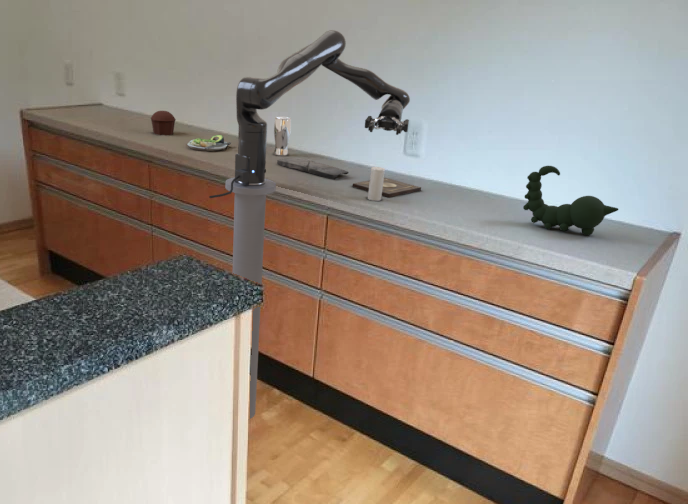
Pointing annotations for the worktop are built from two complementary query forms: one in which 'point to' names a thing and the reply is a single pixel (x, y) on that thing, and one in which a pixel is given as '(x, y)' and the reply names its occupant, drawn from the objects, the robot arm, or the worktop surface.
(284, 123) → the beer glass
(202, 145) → the salad plate
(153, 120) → the muffin
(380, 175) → the white cylinder
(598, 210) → the toy figurine
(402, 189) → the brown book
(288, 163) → the stone slab
